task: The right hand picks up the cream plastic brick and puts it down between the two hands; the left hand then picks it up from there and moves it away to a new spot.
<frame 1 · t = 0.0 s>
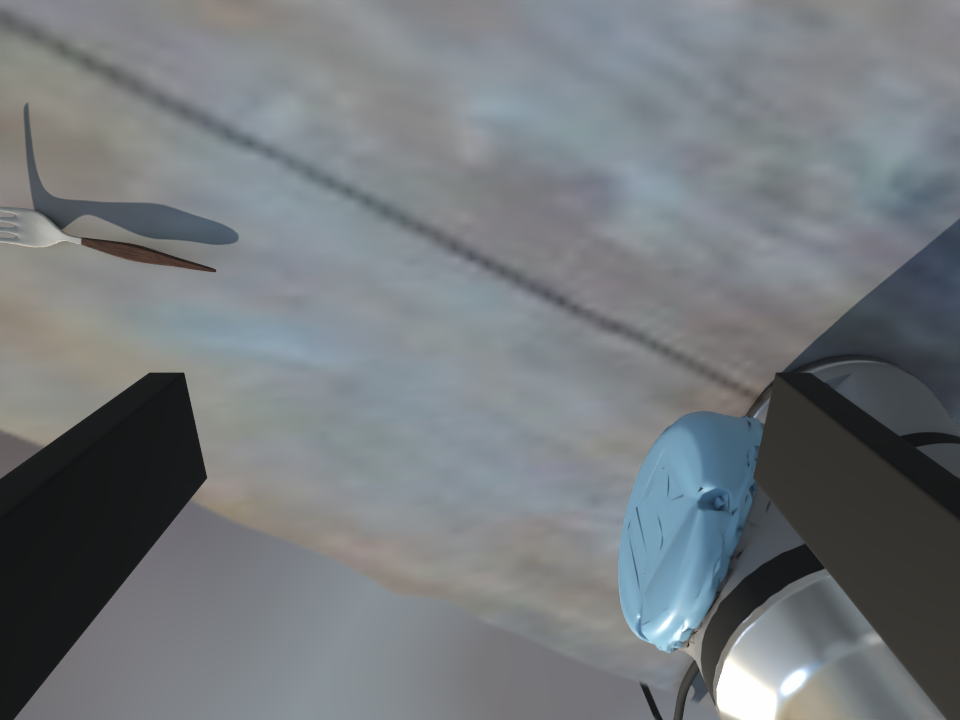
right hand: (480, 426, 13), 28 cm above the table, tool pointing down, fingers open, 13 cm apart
fork: (105, 243, 39), on the table
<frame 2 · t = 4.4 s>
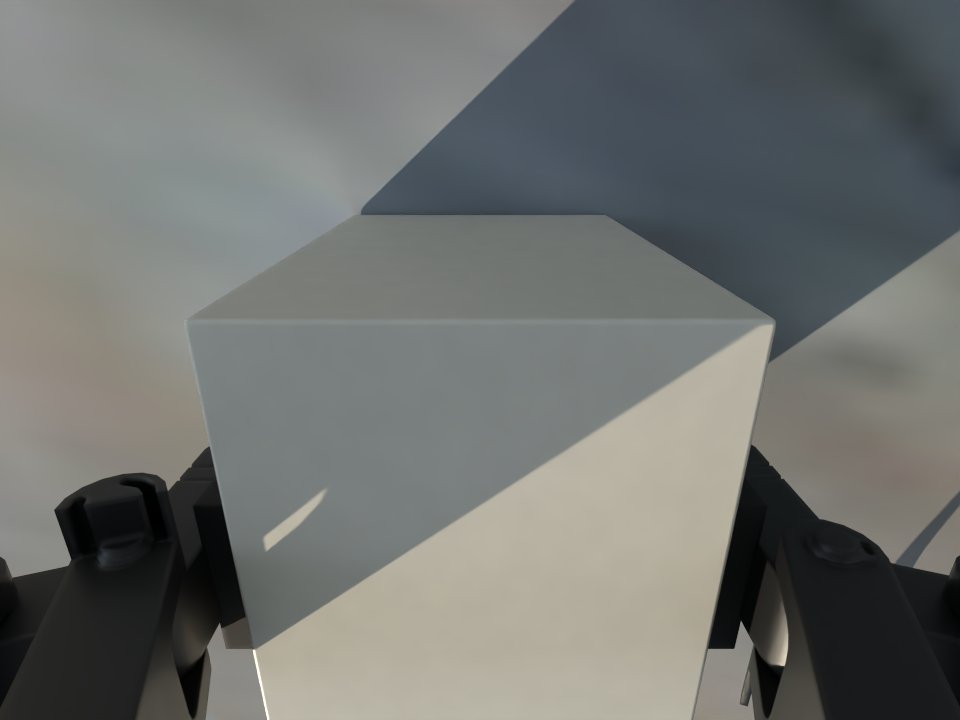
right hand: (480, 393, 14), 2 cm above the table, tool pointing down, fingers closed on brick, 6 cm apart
brick: (480, 368, 16), on the table, touching right hand
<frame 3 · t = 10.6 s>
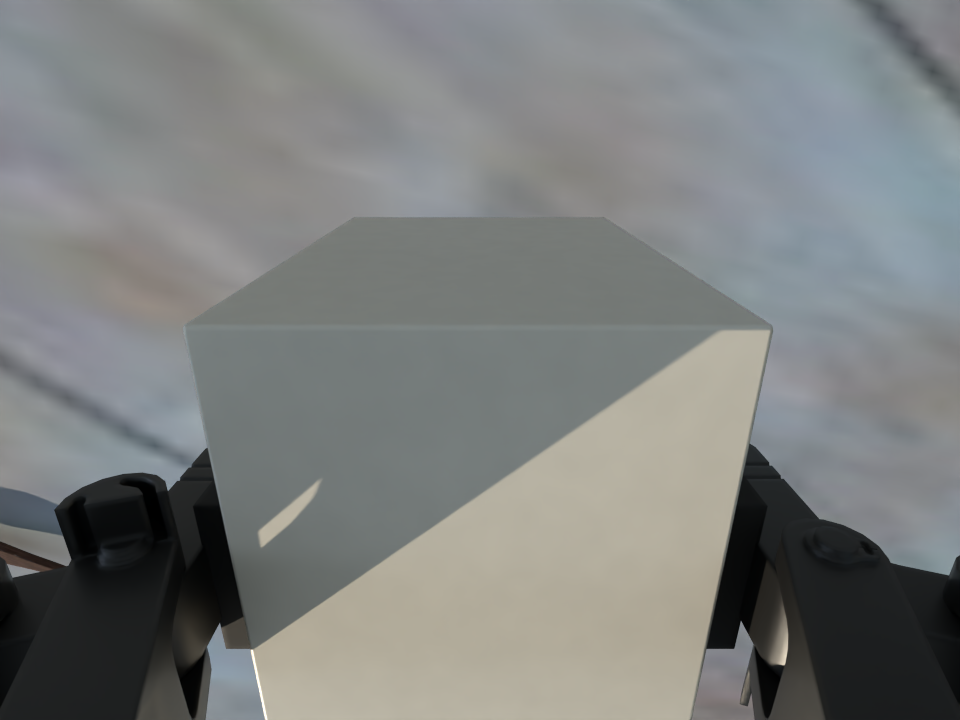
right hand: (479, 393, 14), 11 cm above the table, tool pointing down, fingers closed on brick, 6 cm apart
brick: (479, 370, 16), point 9 cm above the table, touching right hand
when the right hand's fingers open (3 cm above the table, at t = 16.9 s): brick drops 1 cm, on the table.
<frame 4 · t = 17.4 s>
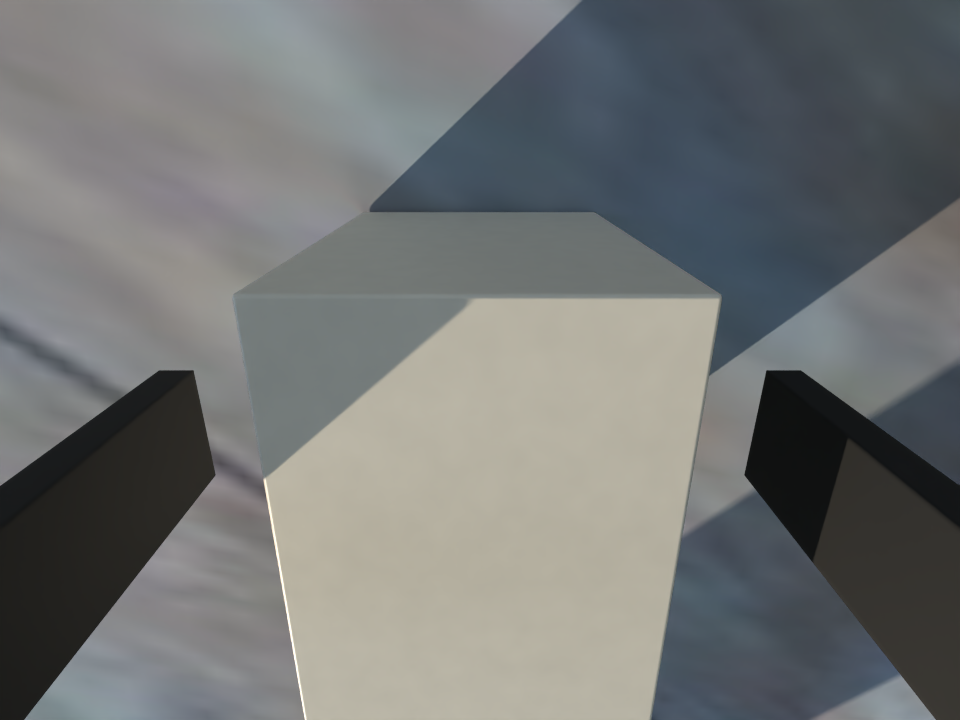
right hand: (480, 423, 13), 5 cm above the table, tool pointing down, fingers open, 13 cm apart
brick: (479, 354, 17), on the table
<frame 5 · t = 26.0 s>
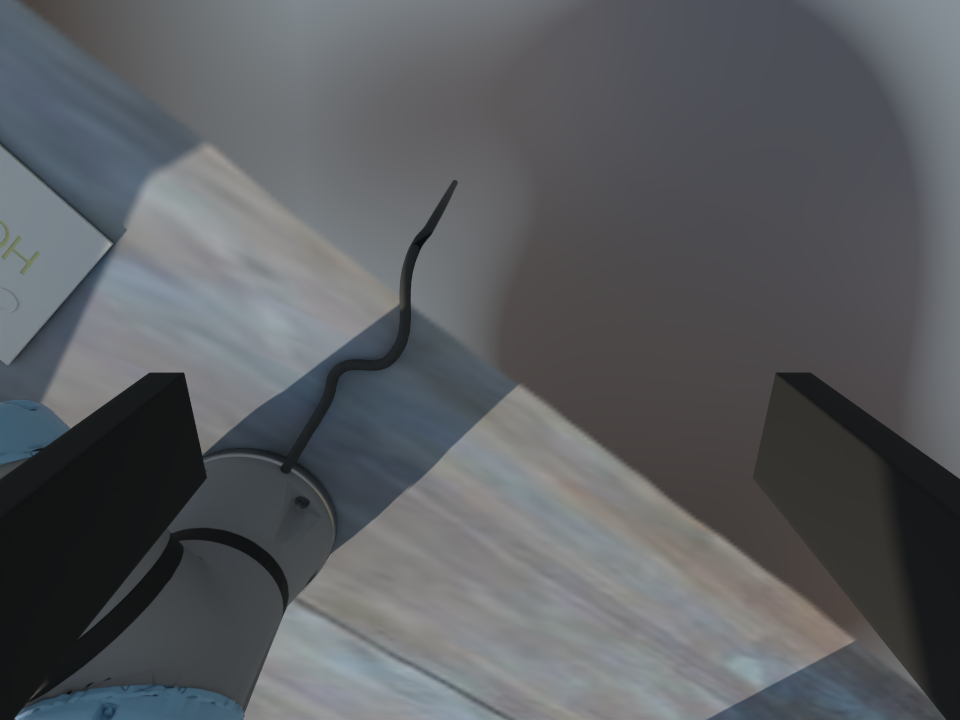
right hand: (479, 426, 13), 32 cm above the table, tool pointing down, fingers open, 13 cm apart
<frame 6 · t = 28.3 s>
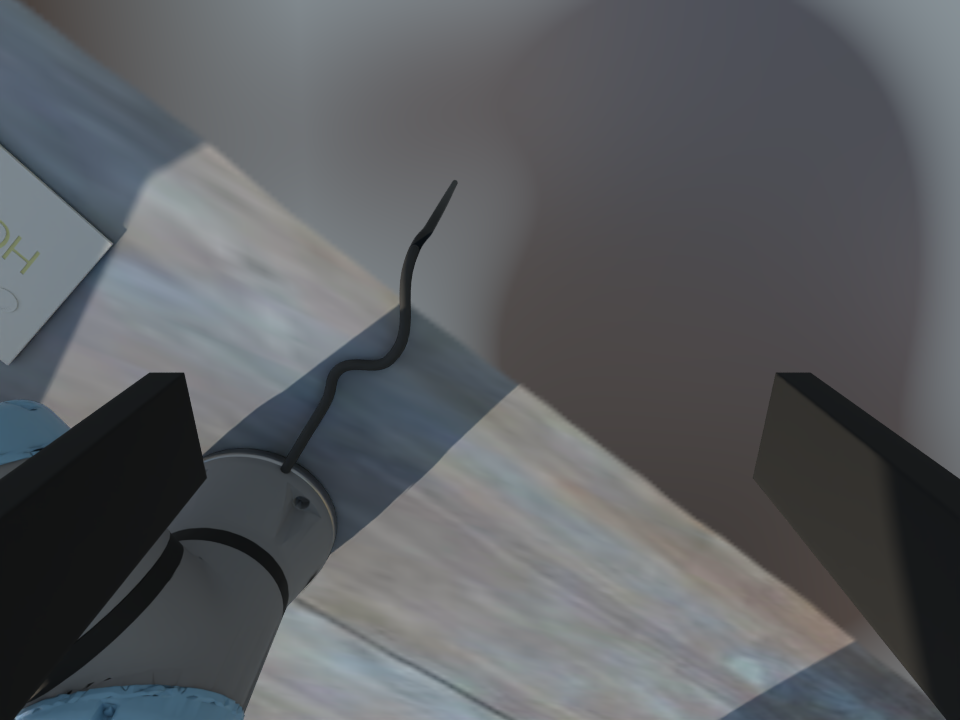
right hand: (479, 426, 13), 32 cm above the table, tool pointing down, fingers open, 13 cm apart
when the left hand's fingers open (3 cm above the table, at t = 30.8 s): brick drops 1 cm, on the table.
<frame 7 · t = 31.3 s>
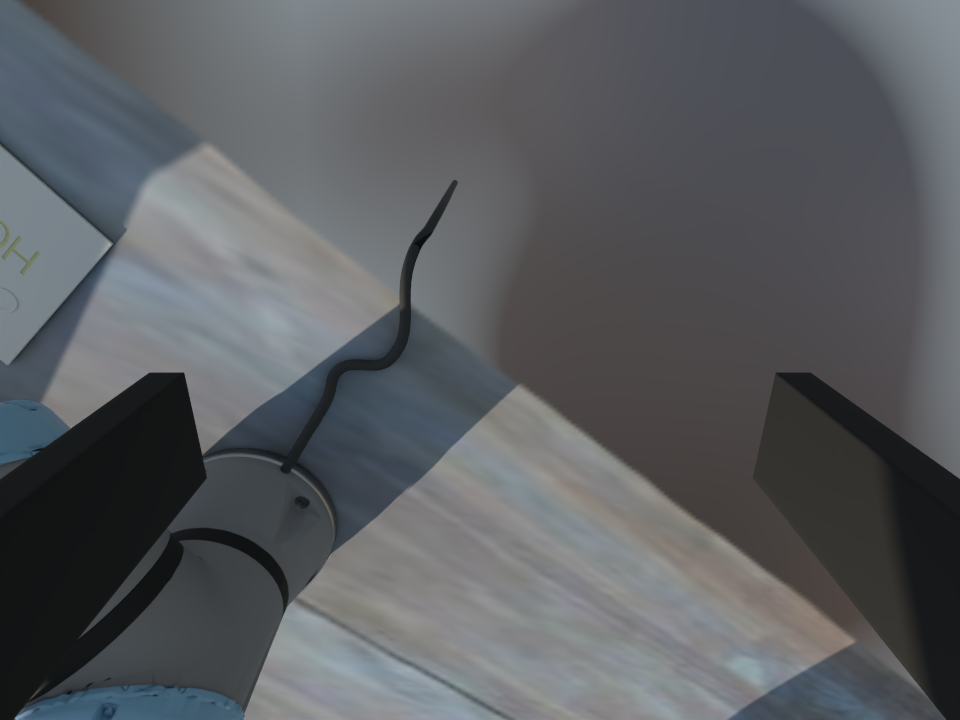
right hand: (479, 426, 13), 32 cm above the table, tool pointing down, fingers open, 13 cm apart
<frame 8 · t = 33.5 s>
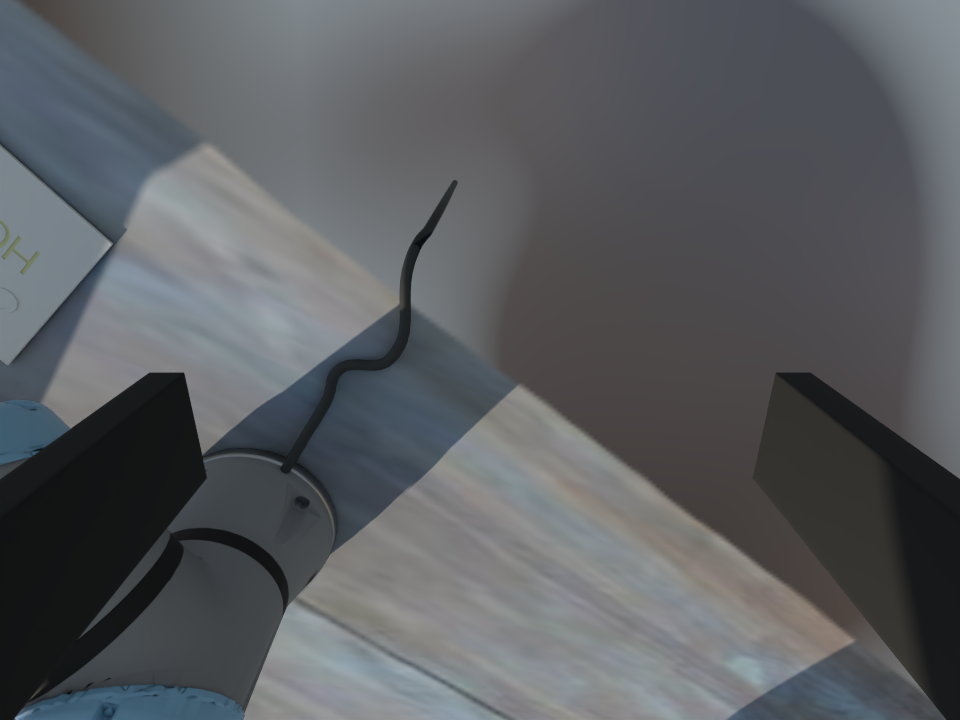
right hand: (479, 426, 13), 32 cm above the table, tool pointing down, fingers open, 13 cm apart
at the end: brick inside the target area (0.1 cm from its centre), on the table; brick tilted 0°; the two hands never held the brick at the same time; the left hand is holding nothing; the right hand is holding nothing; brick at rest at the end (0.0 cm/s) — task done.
